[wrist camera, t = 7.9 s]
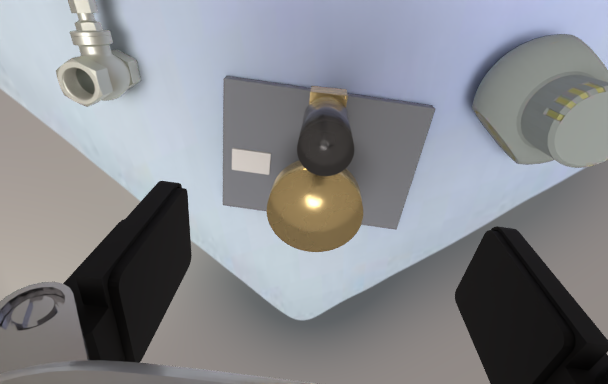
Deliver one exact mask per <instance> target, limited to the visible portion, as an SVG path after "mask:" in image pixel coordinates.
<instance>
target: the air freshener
mask: <svg viewBox="0 0 608 384" xmlns="http://www.w3.org/2000/svg"><path fill="white" fill-rule="evenodd" d="M472 108H473V110H474V112H475V114H476V115H477V117H478V118H479V120H480V121H481V123H482V124H483V125H484V127H485V128H486V129H487V131H488V132H489V133H490V135H491V136H492V137H493V138H494V140H495V141H496V142H497V143H498V144H499V146H500V147H501V148H502V149H503V150H504V151H505V152H506V153H507V155H508V156H509V157H510V158H511V159H512V160H513V161H515V162H516V163H517V164H527V165H528V164H540V163H545V162H550V161H553V160H556V161H557V162H559V163H560V164H563V165H565V166H569V167H575V168H582V167H587V166H594V165H597V164H600V163H602V162H604V161H606V160H608V70H607V69H606V67H605V66H604V64H603V63H602V61H601V60H600V59H599V57H598V56H597V55H596V54H595V53H594V52H593V50H592V49H591V48H590V47H589V46H587V45H586V44H585V43H584V42H583V41H582V40H580V39H579V38H577V37H575V36H573V35H567V34H557V35H549V36H544V37H540V38H536V39H533V40H531V41H528V42H526V43H524V44H521V45H520V46H518V47H516V48H515V49H513V50H511V51H510V52H508V53H507V54H506V55H504V56H503V57H502V58H501V59H499V60H498V61H497V62H496V63H495V64H494V66H493V67H492V68H491V69H490V70H489V71H488V73H487V74H486V75H485V77H484V78H483V80H482V81H481V83H480V85H479V87H478V89H477V92H476V94H475V97H474V101H473V105H472Z"/></svg>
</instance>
